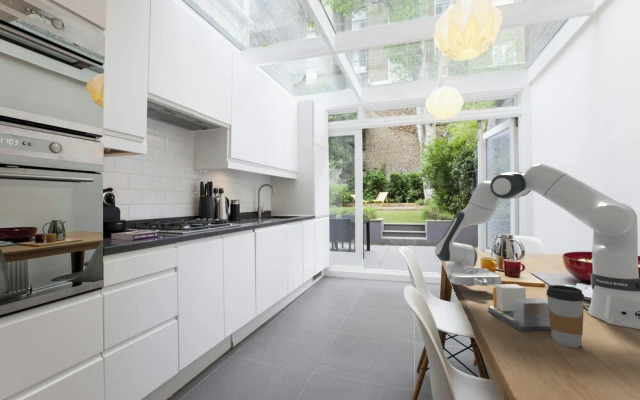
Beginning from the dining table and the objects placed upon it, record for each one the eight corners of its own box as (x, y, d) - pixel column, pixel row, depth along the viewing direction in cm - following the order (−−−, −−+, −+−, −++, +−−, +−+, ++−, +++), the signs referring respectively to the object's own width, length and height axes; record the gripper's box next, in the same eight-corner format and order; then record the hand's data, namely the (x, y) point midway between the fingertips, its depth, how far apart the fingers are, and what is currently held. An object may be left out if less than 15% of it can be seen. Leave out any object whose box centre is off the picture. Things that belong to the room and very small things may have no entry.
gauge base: (488, 310, 108) (487, 287, 109) (521, 310, 108) (520, 287, 108) (520, 331, 90) (520, 303, 91) (560, 331, 90) (559, 303, 91)
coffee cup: (548, 333, 89) (546, 283, 89) (585, 341, 84) (583, 287, 84) (547, 343, 82) (545, 289, 83) (587, 352, 77) (585, 294, 77)
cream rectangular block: (489, 305, 109) (488, 283, 109) (515, 305, 109) (514, 283, 109) (498, 311, 103) (497, 288, 103) (526, 311, 103) (525, 288, 103)
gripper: (445, 268, 136) (458, 276, 122) (490, 268, 136) (509, 275, 122) (445, 282, 136) (459, 291, 122) (490, 282, 135) (509, 291, 122)
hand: (484, 283), depth 122 cm, fingers closed
